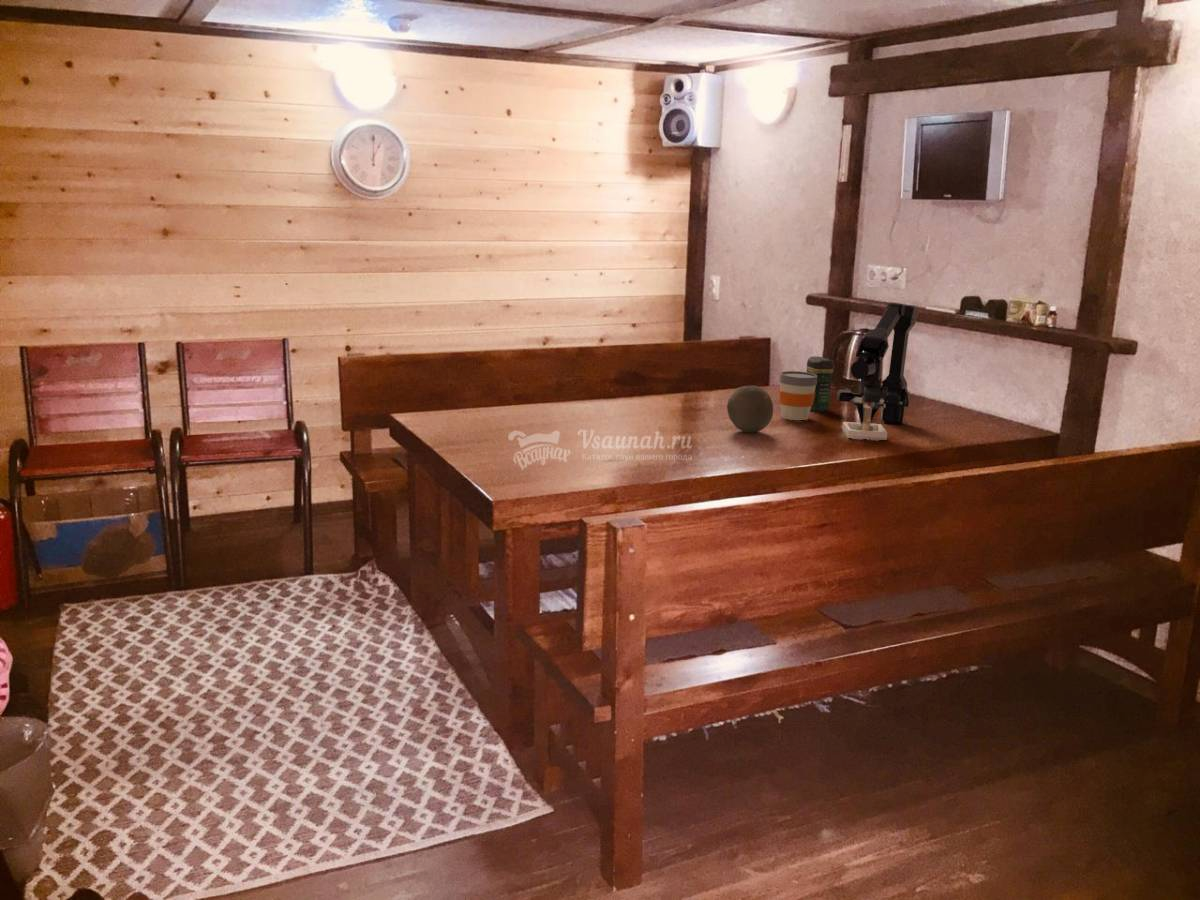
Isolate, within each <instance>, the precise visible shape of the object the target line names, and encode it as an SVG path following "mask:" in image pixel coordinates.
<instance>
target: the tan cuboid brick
mask: <svg viewBox="0 0 1200 900" xmlns="http://www.w3.org/2000/svg"><path fill="white" fill-rule="evenodd" d="M871 412H872V409H871V405H863V422H862V424H861V427H860V431H869V429H870V424H871V423H870V420H871Z"/></svg>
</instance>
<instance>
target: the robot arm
mask: <svg viewBox="0 0 1200 900" xmlns="http://www.w3.org/2000/svg"><path fill="white" fill-rule="evenodd" d="M918 317H919V309H917V308H916V306H915V305H911V304H903V303H898V302H888V304H887V306H886V310H885V311H884V313H883V315H882V317H881V318H880V319H879V322H878V323H877V324H876V326H875V328H873V329H871V330H869V331H867V332H866V334H864V336H863V337H862V338H861V341H860V343H859V347H858V349H857V352H856V354H855V357H857V360H856V361H854V362H853V363H852V365H851V367H850V373H851V375H852V377H853V378H855V379H857V380H860V384H859V385H860V386H859V392H852V390H851V389H838V391H837V394H836V398H837V400H838V401H839V402H847V403H849V402H851V403H852V405H855V407H856V409H857V413H858V417H859V421H860V422H859V423H861V424H862V422H863V406H864V403H863V401H864V402H865V403H867V404H869V403H870V408H871V409H872V412H871V420H870V424H872V421H873V420H874V417H875V415H876V413H877V411H878V410H879V409H880V408H881V412H880V420H881V421H882V422H883V424H889V425H891V424H892V425H905V422H904V421H903V420H904V414H905V407H906V408H909V407H910V402H911V397H910V394H909V393H910V392H909V390H908V382H907V379H906V378H905V376H904V373H905V365H906V359H907V358H906V356H907V349H908V343H909V336H910V335H909V334H910V332H911V330H912V329H913V327H915V325H916V321H917V319H918ZM892 332H893V338H892V347H891V352H890V353H891V355H890V364H889V371H888V375H887V377H886V378H885V379H883V380H882V383H881V382H880V381H881V380H880V379H881V374H882V373H881V372H882V366H883V360H884V358H885V356H886V354H887V351H888V349H889V346H890V345H889V336H890V335H891V333H892ZM880 383H881V384H880Z"/></svg>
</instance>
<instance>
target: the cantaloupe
mask: <svg viewBox="0 0 1200 900" xmlns="http://www.w3.org/2000/svg"><path fill="white" fill-rule="evenodd" d="M726 409H727V413H728V418H729V420H730V421H731V423H732V424H733V425H734V426H735V427H736V428H737V429H738V430H740V431H742V432H744V433H750V434H751V433H758V432H760V431H762V430H764V429H765V428H766V427H767V426H768V425H769V424H770V423H771V421H772V419H773V416H774V404H773V401H772V399H771V396H770V394H769V393H768V392H767V391H766V390H765V389H763V388H762V387H760V386H757V385H744V386H743V385H742V386H740V387H738V388H735V390H734V391H733V392H732V393H731V394H730V396H729V397H728V400H727V405H726Z"/></svg>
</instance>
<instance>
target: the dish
mask: <svg viewBox="0 0 1200 900" xmlns="http://www.w3.org/2000/svg"><path fill="white" fill-rule="evenodd" d="M860 427H861V423H860V422H853V421H851V422H850V421H843V422H842V427H841V430H842V432H843V433H845V434H844V435H845V436H846V437H845V438H847V439H848V438H852V439H851V440H863V439H867V440H868V441H879V440H887V438H888V432H887V430H886V429H885V428H884V426H883V425H882V424H881V423H870V429H869V431H860ZM869 439H870V440H869ZM867 440H866V441H867ZM887 441H888V440H887Z"/></svg>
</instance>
